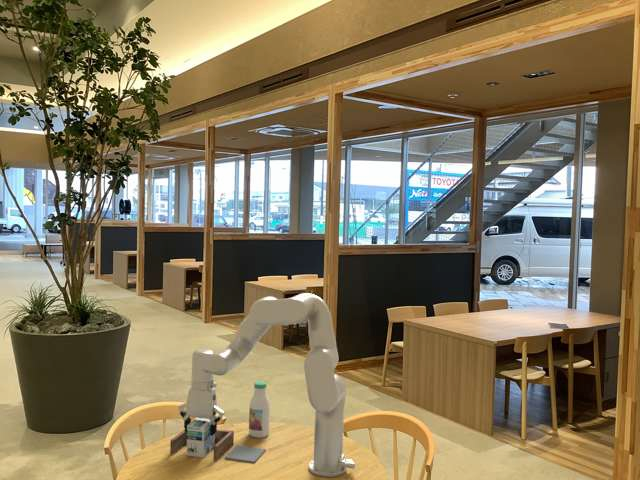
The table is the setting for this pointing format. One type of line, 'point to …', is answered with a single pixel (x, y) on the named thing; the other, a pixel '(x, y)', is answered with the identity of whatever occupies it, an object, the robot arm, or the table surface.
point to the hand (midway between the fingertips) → (200, 432)
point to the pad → (245, 454)
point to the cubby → (223, 444)
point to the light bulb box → (199, 438)
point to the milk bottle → (259, 412)
